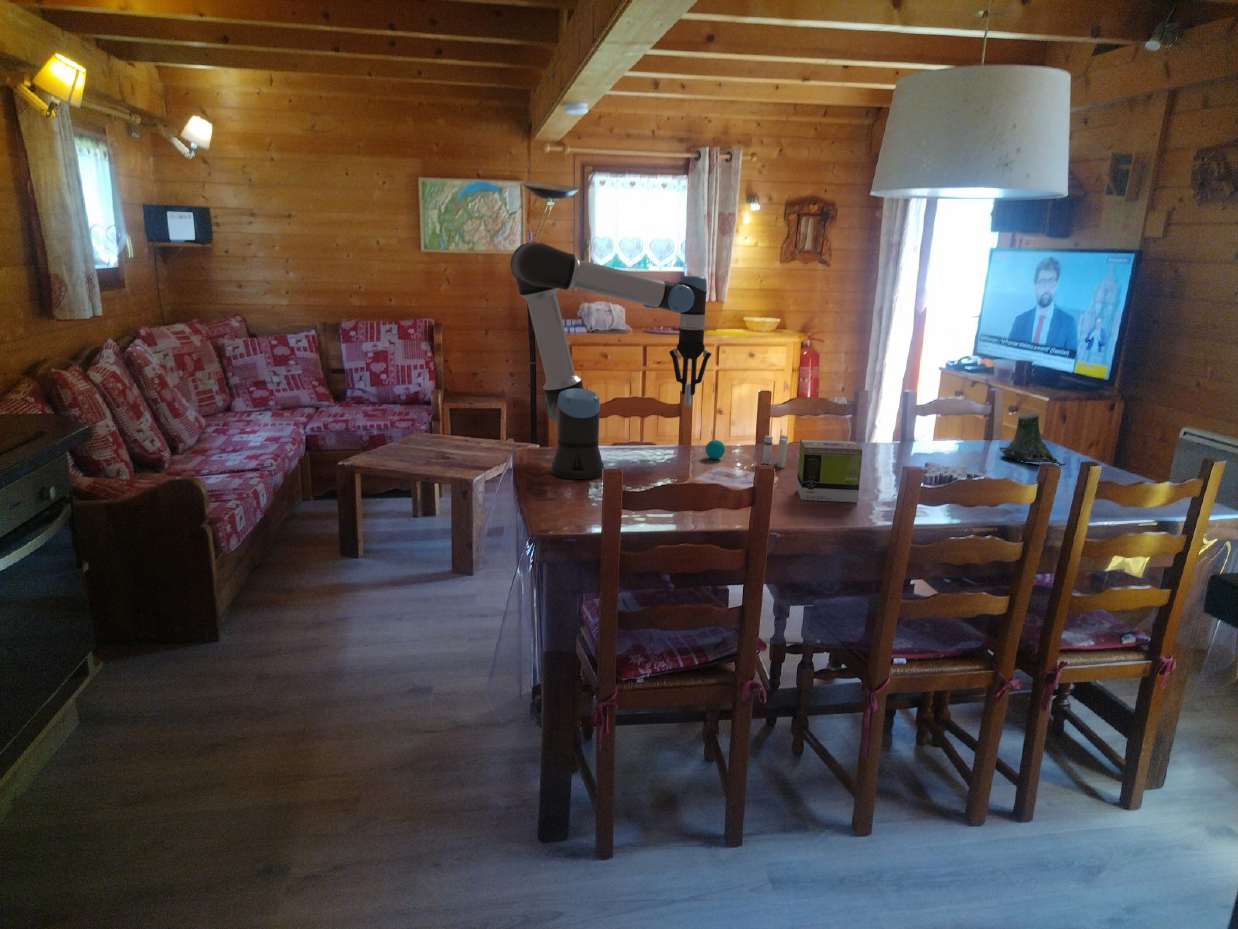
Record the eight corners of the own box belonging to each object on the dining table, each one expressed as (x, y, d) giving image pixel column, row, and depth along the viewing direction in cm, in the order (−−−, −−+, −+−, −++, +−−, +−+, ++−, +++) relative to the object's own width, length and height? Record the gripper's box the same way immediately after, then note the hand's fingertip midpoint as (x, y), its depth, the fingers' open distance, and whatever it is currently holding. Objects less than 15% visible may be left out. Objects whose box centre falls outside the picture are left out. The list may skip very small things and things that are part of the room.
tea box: (851, 493, 222) (856, 440, 218) (857, 504, 212) (864, 449, 208) (795, 489, 223) (800, 437, 219) (799, 500, 214) (804, 446, 210)
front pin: (760, 463, 249) (763, 436, 247) (765, 462, 251) (767, 435, 249) (767, 464, 248) (769, 437, 246) (772, 463, 250) (774, 436, 247)
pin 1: (776, 462, 251) (778, 435, 249) (780, 461, 253) (782, 434, 250) (782, 464, 249) (785, 437, 247) (786, 462, 251) (789, 436, 249)
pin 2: (775, 466, 246) (777, 439, 244) (779, 465, 248) (782, 438, 246) (782, 468, 245) (784, 440, 242) (786, 466, 246) (788, 439, 244)
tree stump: (1080, 468, 258) (1079, 415, 252) (1021, 483, 257) (1019, 430, 251) (1044, 451, 276) (1042, 401, 270) (989, 465, 274) (986, 415, 268)
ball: (701, 458, 253) (702, 439, 251) (712, 455, 257) (713, 437, 255) (716, 462, 249) (717, 443, 247) (728, 459, 253) (729, 440, 252)
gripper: (715, 328, 247) (710, 404, 253) (672, 326, 250) (668, 401, 256) (711, 330, 240) (707, 408, 246) (668, 328, 243) (664, 405, 249)
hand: (687, 404), depth 251 cm, fingers closed
